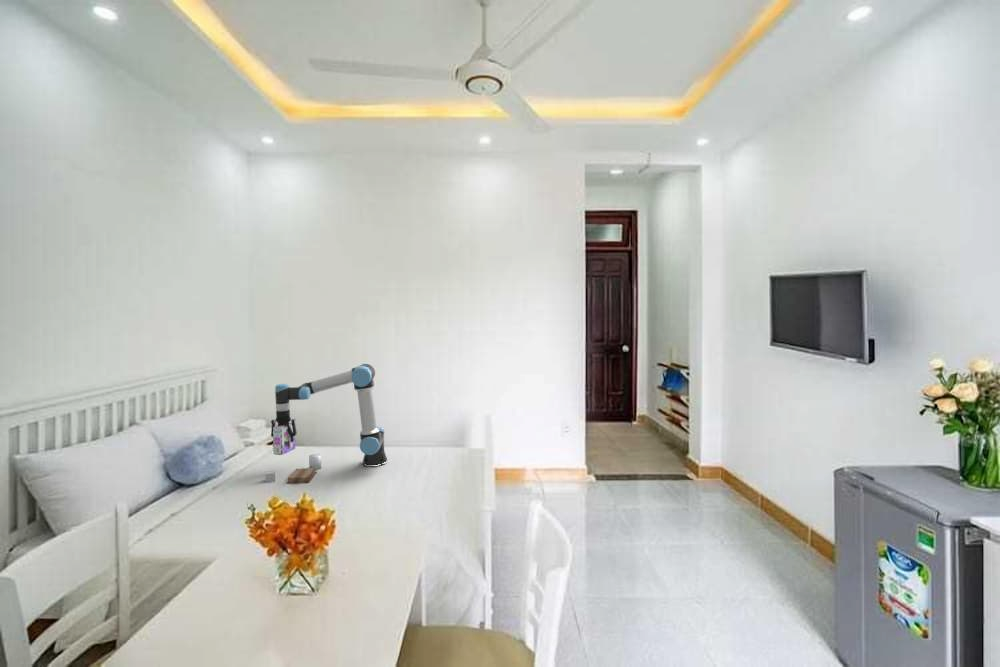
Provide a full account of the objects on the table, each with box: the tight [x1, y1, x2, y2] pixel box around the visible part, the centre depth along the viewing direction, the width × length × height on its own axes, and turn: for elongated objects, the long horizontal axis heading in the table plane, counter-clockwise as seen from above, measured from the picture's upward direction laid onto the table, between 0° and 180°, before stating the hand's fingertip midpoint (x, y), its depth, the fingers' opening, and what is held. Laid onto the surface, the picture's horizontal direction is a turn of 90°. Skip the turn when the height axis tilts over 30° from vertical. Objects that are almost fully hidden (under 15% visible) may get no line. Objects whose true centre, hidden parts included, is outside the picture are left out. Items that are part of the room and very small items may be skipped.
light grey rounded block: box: [308, 453, 322, 471], centre depth 314 cm, size 7×7×8 cm
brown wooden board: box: [286, 467, 318, 484], centre depth 297 cm, size 12×17×3 cm
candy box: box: [272, 422, 296, 456], centre depth 307 cm, size 14×6×16 cm, turn 169°
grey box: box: [264, 470, 276, 484], centre depth 293 cm, size 5×5×5 cm
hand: (284, 447), depth 307 cm, fingers closed on candy box, 7 cm apart
